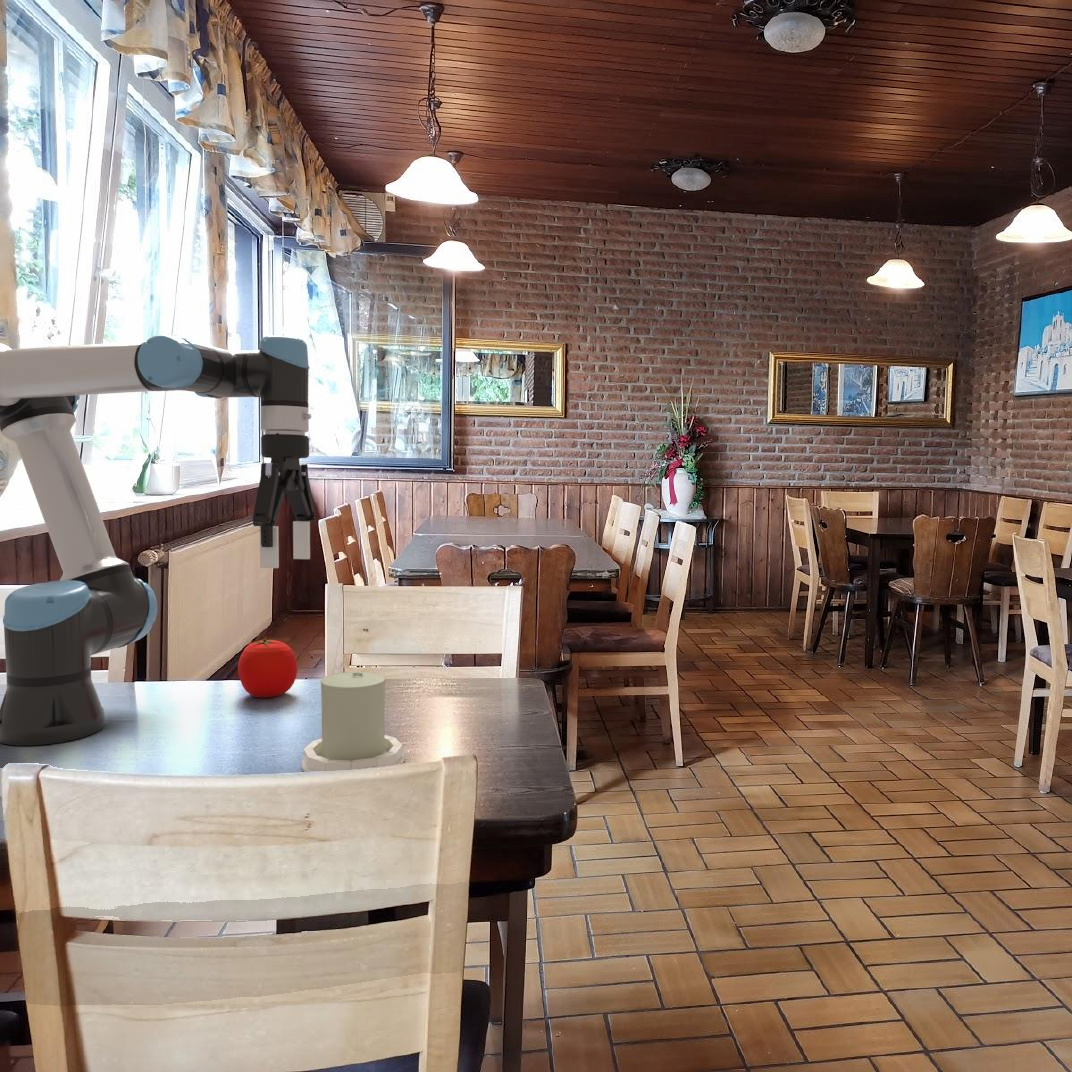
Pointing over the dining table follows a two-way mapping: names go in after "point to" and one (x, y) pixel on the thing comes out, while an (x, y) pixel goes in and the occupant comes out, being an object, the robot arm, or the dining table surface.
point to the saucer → (318, 763)
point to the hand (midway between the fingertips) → (286, 563)
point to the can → (353, 716)
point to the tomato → (267, 668)
